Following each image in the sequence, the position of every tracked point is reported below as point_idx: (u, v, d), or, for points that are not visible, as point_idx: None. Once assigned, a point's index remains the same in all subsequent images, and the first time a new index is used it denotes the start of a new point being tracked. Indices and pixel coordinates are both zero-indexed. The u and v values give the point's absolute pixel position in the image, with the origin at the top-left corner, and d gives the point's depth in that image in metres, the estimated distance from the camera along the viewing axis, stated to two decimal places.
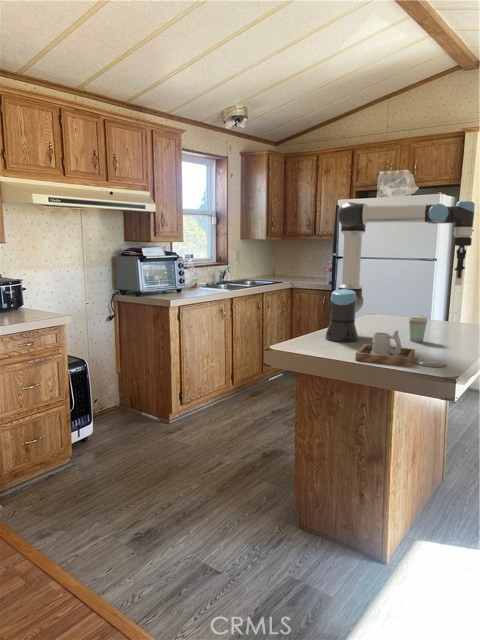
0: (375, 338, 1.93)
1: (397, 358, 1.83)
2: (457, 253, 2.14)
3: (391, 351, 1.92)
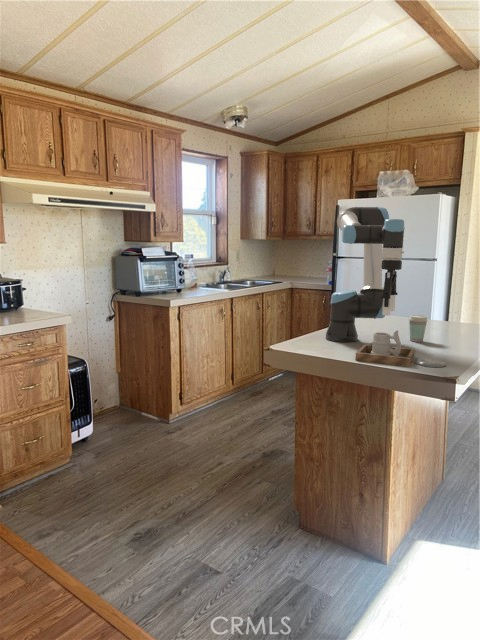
0: (375, 338, 1.93)
1: (397, 358, 1.83)
2: None
3: (391, 351, 1.92)
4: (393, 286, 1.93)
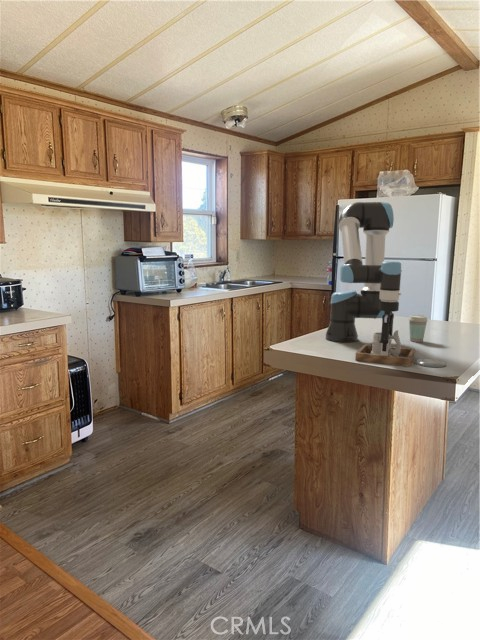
0: (375, 338, 1.92)
1: (397, 358, 1.83)
2: None
3: (391, 351, 1.92)
4: (390, 328, 1.94)
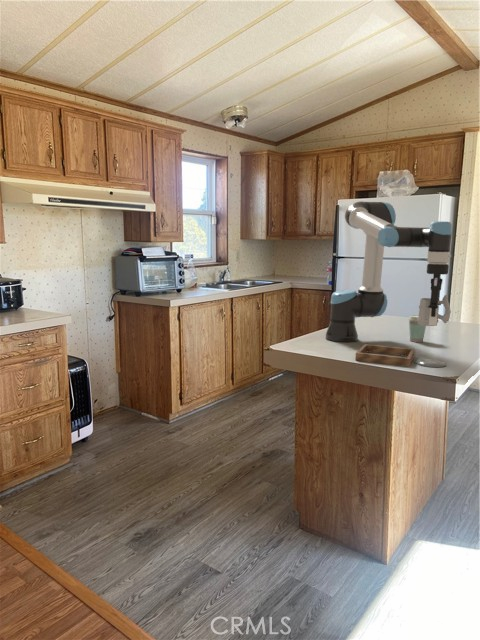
0: (422, 303, 1.82)
1: (397, 358, 1.83)
2: (431, 284, 1.80)
3: (440, 317, 1.81)
4: None
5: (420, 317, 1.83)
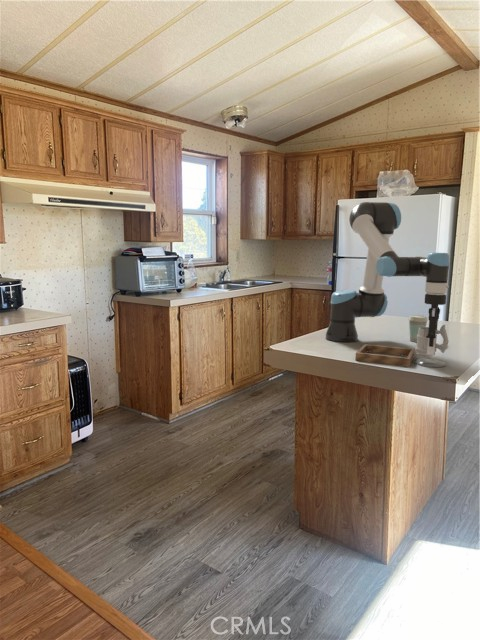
0: (420, 333, 1.84)
1: (397, 358, 1.83)
2: (429, 314, 1.81)
3: (437, 346, 1.83)
4: (435, 323, 1.86)
5: (418, 346, 1.85)
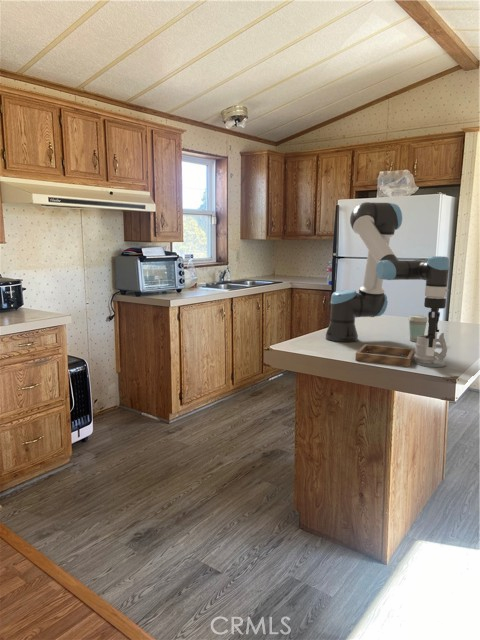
0: (419, 341, 1.84)
1: (397, 358, 1.83)
2: (429, 317, 1.81)
3: (436, 355, 1.84)
4: (435, 324, 1.87)
5: (417, 354, 1.86)
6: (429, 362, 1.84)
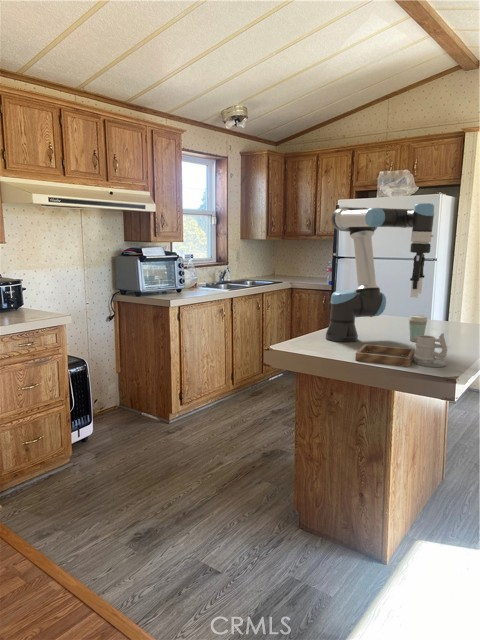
0: (419, 341, 1.84)
1: (397, 358, 1.83)
2: None
3: (436, 355, 1.84)
4: (421, 269, 1.98)
5: (417, 354, 1.86)
6: (429, 362, 1.84)
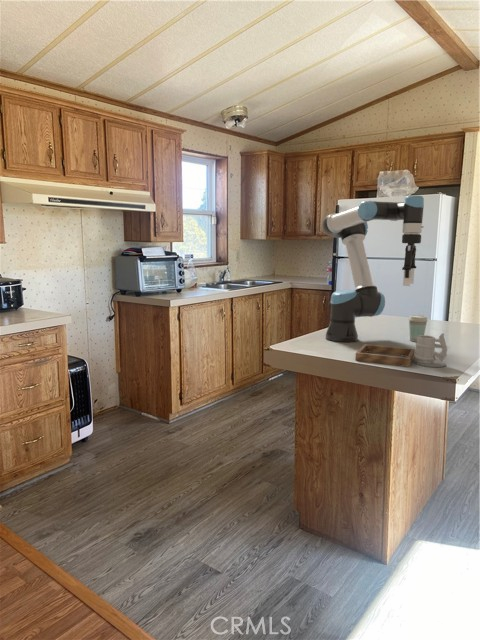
0: (419, 341, 1.84)
1: (397, 358, 1.83)
2: (406, 251, 1.99)
3: (436, 355, 1.84)
4: (412, 259, 2.05)
5: (417, 354, 1.86)
6: (429, 362, 1.84)
